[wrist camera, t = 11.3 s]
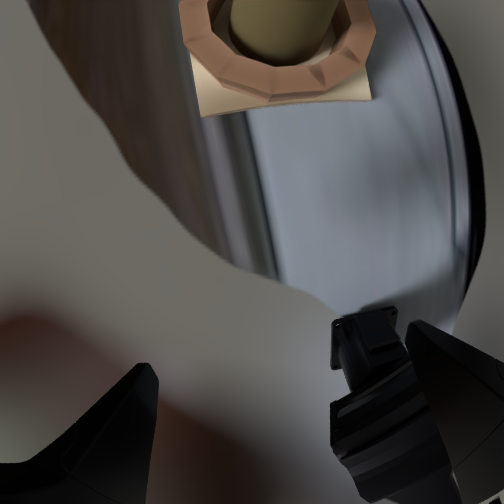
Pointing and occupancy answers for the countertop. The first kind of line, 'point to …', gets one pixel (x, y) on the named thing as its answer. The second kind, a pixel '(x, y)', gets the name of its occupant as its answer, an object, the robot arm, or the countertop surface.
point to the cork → (279, 29)
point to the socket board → (275, 78)
